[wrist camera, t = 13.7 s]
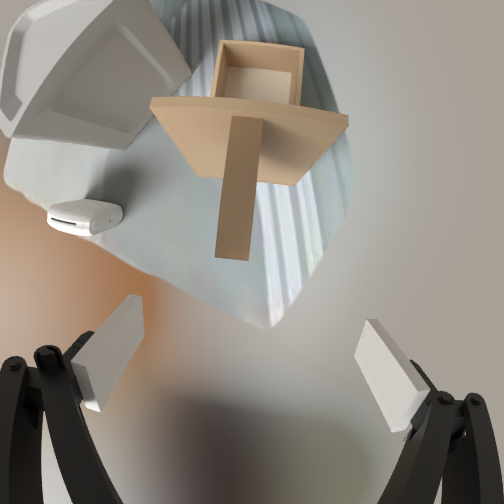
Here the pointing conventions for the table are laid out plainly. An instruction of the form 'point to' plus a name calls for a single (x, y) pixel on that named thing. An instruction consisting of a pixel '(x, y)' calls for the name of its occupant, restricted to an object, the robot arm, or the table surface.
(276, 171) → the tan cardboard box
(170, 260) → the table surface
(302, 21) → the table surface
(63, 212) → the photo printer
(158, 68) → the grey tapered bin
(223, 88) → the tan rectangular open box
